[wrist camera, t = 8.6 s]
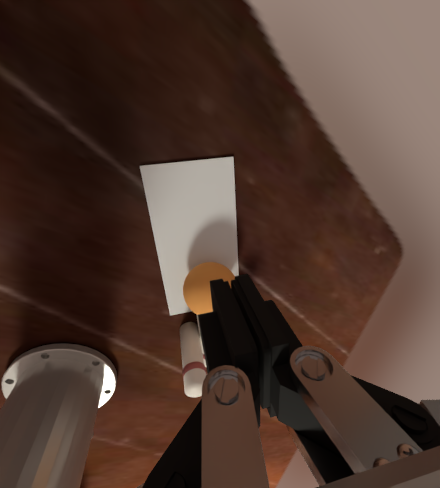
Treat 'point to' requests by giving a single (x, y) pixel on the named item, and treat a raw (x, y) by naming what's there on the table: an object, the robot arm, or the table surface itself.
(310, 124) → the table surface
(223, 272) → the ball
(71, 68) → the table surface
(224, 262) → the lane mark
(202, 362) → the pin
